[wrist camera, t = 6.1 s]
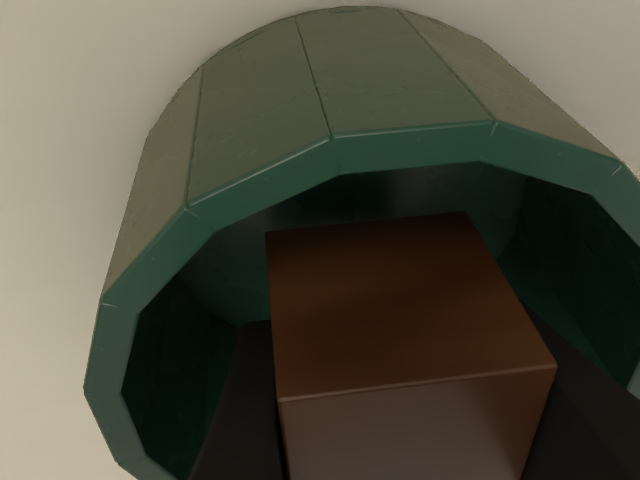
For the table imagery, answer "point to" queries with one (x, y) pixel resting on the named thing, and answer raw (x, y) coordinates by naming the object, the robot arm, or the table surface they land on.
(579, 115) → the table surface
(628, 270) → the pot
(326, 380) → the block
